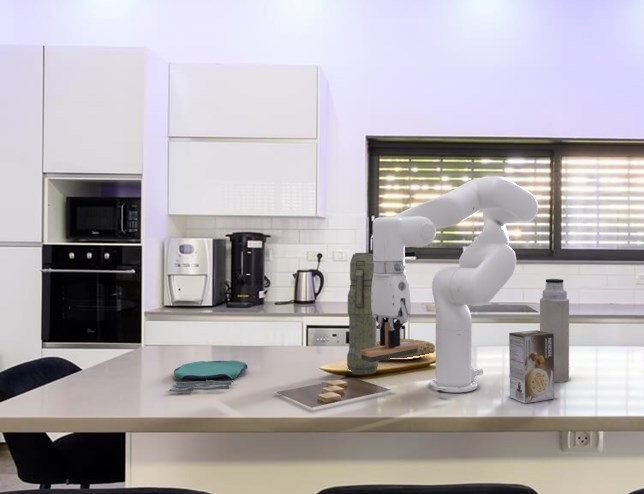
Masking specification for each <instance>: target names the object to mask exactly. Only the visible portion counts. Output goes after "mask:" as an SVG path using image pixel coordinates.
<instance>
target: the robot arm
mask: <svg viewBox="0 0 644 494" xmlns="http://www.w3.org/2000/svg"><path fill="white" fill-rule="evenodd" d="M480 211H482V218H483V219H482V220H483V228H482V231H481V232H480V233H479V234H478V236H476V238H475V239H474V240H473V241H471V243H470V244H469V245H468V246H467V247H466V248H465V249H464V251H463V252H462V253H461V255H460V257H459V260H458V266H446V267H444V268H441V269H439V270H438V271H436V273H435V274H434V276H433V278H432V282H431V290H432V296H433V302H434V309H435V378H433V379H431V380H430V381H429V385H430V386H432V387H433V388H434V387H435V388H437V389H439V390H437V391H438V392H443V393H453V394H454V393H456V394H457V393H468V392H472V391H475V390H477V389H478V382H477V380H475V378H476V377H480V376H483V374H484V370H483V368H482V367H479V368H474V367H472V364H473V363H472V362H473V361H472V360H473V358H472V356H473V354H472V352H473V351H472V350H473V346H472V345H473V344H472V343H473V342H472V341H473V340H472V339H473V338H472V337H473V320H472V315H471V312H470V311H471V310H470V309H469V306H474V307H481V306H485V305H487V304H488V303H490V302H491V301H492V300H493V299H494V298H495V297H496V296H497V294H498V293H499V292H500V291H501V289H503V287H504V286H505V285H506V284H507V283H508V281H509V280H510V279H511V277H512V276H513V275H514V272H515V271H516V266H517V256H516V252H515V251H514V249H513V248H512V247H511V246H510V238H509V235H508V231H507V227H506V224H526V223H529V222H532V221H533V220H535V218H536V217H537V215H538V212H539V203H538V200H537V199H536V196H534V194H533V193H531V192H530V191H529V190H528V189H525V188H523V187H522V186H521V185H519V184H517V183H515V182H513V181H512V180H510V179H508V178H506V177H504V176H498V175H497V176H488V177H478V178H474V179H471V180H468V181H466V182H465V183H463V184H461V185H459V186H458V187H455V188H453V189H452V190H450V191H449V192H446V193H445V194H443V195H440V196H438V197H435V198H432V199H430V200H428V201H425V202H422V203H419V204H416V205H415V206H412V207H409V208H407V209H405V210H403V211H401V212H399V213H398V214H395V215H394V216H381V217H380V216H379V217H376V218H374V219H373V221H372V254H373V280H372V290H371V309H372V316H373V317H374V318H375V319H376V321H377V329H379V341H380V345H381V346H385V322H390V331H388V347H389V348H393V347H398V346H400V339H401V330H402V329H403V326H404V324H406V323H408V322H409V320H410V319H409V316H410V315H411V314H412V313H411V312H412V310H411V292H410V284H409V279H408V275H407V274H406V262H405V260H406V259H405V258H406V257H405V256H406V254H405V253H406V251H405V248H407V247H409V248H422V247H426V246H428V245H430V244H431V243H432V242H433V241H434V240H435V238H436V235H437V230H438V229H444V228H449V227H453V226H456V225H459V224H460V223H462V222H464V221H466V220H467V219H469V218H470V217H472V216H474V215H475V214H477V213H478V212H480ZM394 322H395V323H394Z"/></svg>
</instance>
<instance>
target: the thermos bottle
mask: <svg viewBox="0 0 644 494" xmlns="http://www.w3.org/2000/svg"><path fill="white" fill-rule="evenodd" d="M564 282H565V281H564V279H561V278H546V279H545V289H543V290H542V294H541V295H542V297H541V298H539V331H543V332H548V333H553V334H554V383H565V382H568V381H569V380H570V299H569V298H567V296H568V293H567V290H565V289H564Z"/></svg>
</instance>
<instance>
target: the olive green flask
mask: <svg viewBox="0 0 644 494" xmlns="http://www.w3.org/2000/svg"><path fill="white" fill-rule="evenodd" d="M349 280H350V285H349V289H348V293H347V314H348V352H347V354H346V366H347V370H348V369H349V370H351V371H352V373H351V374H352V375H371V374H375V373H377V372H376V370H377V371H378V366H379V361H375V362H369V361H365V360H362V359H361V354H360V350H364V349H369V348H375V347H376V342H377V334H378V333H377V329H378V322H377V321H376V319H375V318H374V317H373V316H372V309H371V290H372V280H373V253H372V252H355V253H354V254H352V256H351V259H350V262H349Z"/></svg>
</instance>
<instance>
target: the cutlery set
mask: <svg viewBox="0 0 644 494" xmlns="http://www.w3.org/2000/svg"><path fill="white" fill-rule="evenodd" d="M246 370H248V364H246V362H245V361H240V360H235V359H234V360H233V359H232V360H213V361H212V360H209V361H204V360H203V361H202V360H200V361H193V362H189V363H185V364H184V363H183V364H182V365H181V366H178V367H177V368H175V369H174V370H173V376H174V377H175V378H177V379H182V380H184V379H193V380H194V379H198V380H199V379H206V380H205V381H178V382H175V384H173V385H172V387H173V388H169V390H168V392H172V393H173V392H174V393H175V392H190V393H191V392H194V391H195V390H199V391H213V390H214V391H215V390H229V389H230V386H231V385H232V384H234V380H235V379H236V378H237V377H238V376H239V375H240V373H243V372H245V371H246ZM225 377H229V378H230V380H213V379H217V378H225ZM207 379H210V380H207Z"/></svg>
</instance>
